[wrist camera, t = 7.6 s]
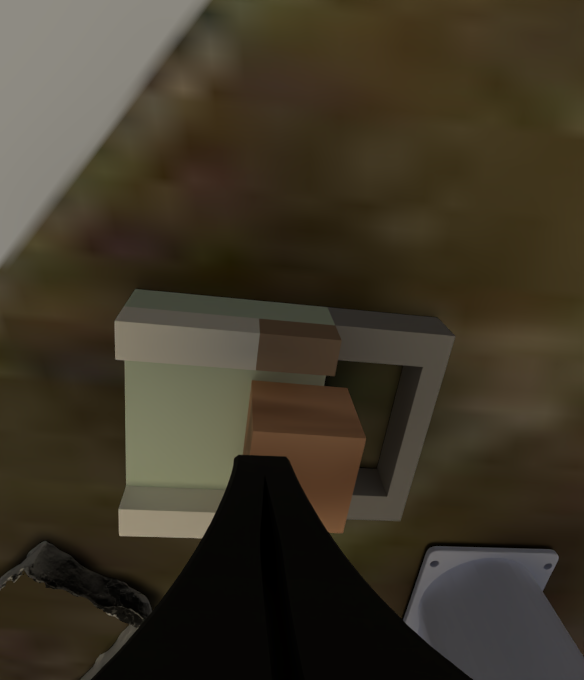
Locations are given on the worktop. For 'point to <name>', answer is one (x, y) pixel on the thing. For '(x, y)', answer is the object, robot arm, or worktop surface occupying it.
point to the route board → (234, 393)
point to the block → (310, 441)
